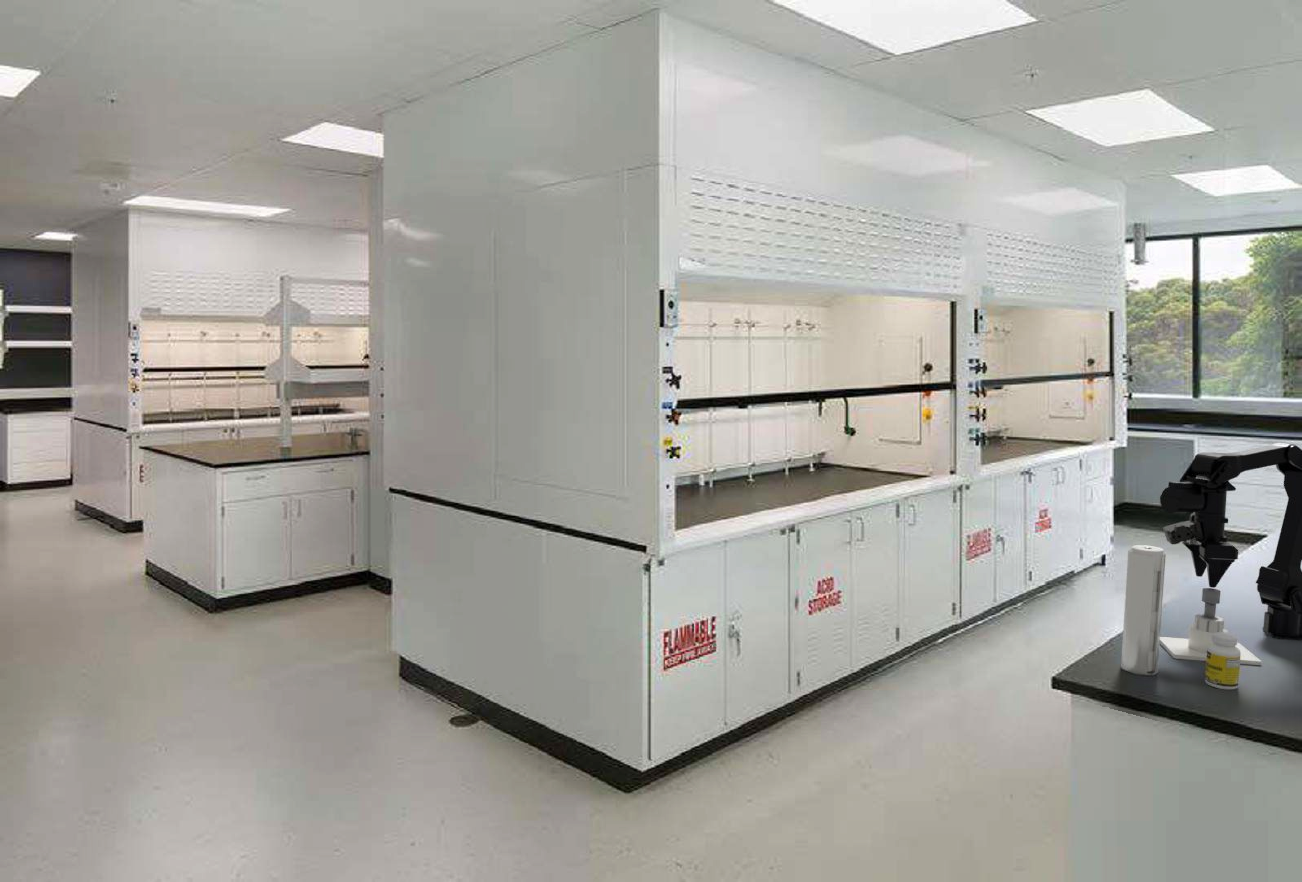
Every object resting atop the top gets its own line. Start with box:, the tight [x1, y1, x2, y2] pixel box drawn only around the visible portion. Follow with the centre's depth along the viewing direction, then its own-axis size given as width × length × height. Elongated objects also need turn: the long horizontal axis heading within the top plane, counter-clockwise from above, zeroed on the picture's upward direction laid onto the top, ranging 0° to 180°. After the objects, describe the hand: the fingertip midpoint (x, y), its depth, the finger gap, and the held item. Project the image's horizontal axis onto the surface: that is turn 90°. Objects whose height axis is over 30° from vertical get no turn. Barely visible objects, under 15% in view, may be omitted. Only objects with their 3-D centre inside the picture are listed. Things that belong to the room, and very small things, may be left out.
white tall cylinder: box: [1120, 544, 1166, 676], centre depth 178 cm, size 6×6×25 cm
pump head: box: [1201, 587, 1221, 618], centre depth 188 cm, size 3×3×6 cm
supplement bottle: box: [1204, 632, 1241, 691], centre depth 170 cm, size 5×5×10 cm
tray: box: [1160, 636, 1263, 666], centre depth 189 cm, size 16×12×1 cm
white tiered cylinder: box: [1187, 613, 1229, 653], centre depth 189 cm, size 7×7×7 cm
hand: (1205, 581), depth 195 cm, fingers open, 9 cm apart
